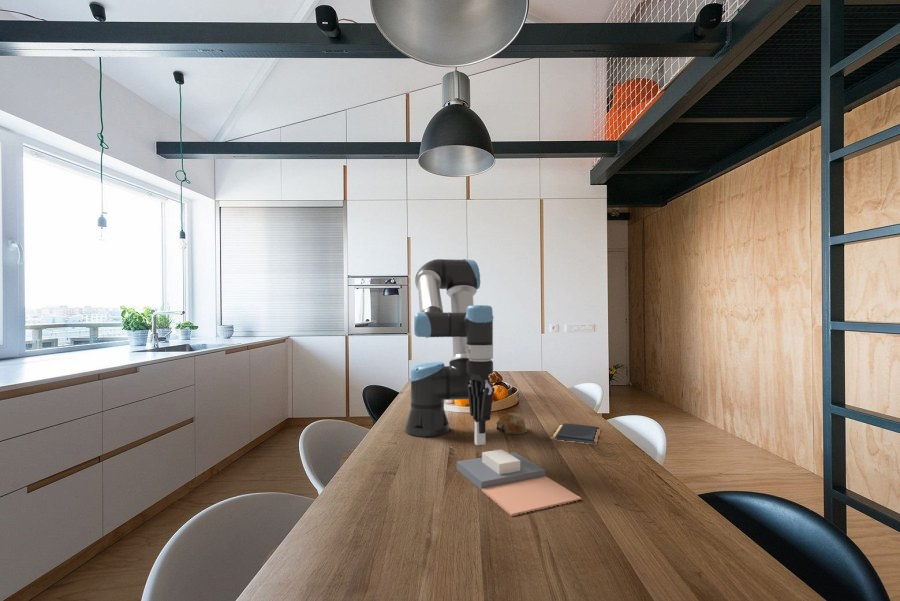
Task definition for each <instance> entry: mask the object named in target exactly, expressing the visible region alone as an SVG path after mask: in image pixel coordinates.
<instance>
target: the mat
mask: <svg viewBox="0 0 900 601" xmlns="http://www.w3.org/2000/svg"><path fill="white" fill-rule="evenodd" d="M481 492H482V493H484V494H485V495H486V496H487V497H488V498H489V497H490V500H491V501H493V502H494V503H497V504H496V505H497V506H499V507H500V508H501V510H503V511H505V512H506V513H507V514H508V515H509V516H510V517H514V516H515V517H516V516H518V515H519V514H520V515H522V514H523V513H524V514H528V513H527V512H529V513H531V512H530V511H533V512H536V511H535V510H537V511H540V509H542V510H544V509H545V508H546V509H549V508H548V507H550V508H554V507H553V506H555V507H557V506H556V505H559V506H563V505H566V503H568V504H570V503H569V502H572V503H574V502H573V501H576V500H580V499H581V500H582V497H581V496H579V495H577V494H575V492H572V491H570V490H569V489H567V488H566V487H564V486H562V485H561V484H559V482H556V481H554V480H553V479H551V478H549V477H547V476H546V475H545V476H544V477H539V478H534V479H529V480H524V481H518V482H513V483H508V484H503V485H498V486H492V487H487V488H482V490H481ZM576 502H577V501H576ZM562 504H563V505H562Z"/></svg>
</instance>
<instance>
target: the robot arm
mask: <svg viewBox="0 0 900 601" xmlns="http://www.w3.org/2000/svg"><path fill="white" fill-rule="evenodd" d="M480 272H481V271H480V268H479V265H478V263H477V262H476V261H475V260H473V259H465V258H463V259H450V258H449V259H442V258H437V259H433V260H430V261H428V262H426V263H424V264H423V265H421V267H420V268H419V269H418V270H417V272H416V274H415V281H414V283H415V288H416V289H417V290H418V306H419V312H416V313H414V318H413V319H414V320H413V321H414V325H413V327H414V328H413V329H414V330H413V332H414V333H413V334H414V336H415V337H419V338H426V339H427V338H452V355H453V356H452V358H451V359H450V360H449V361H448V364H449V365H448V366H447V365H445V362H444V361H431V362H425V363H421V364H417V365H414V366H413V367H412V368H411V370H410V379H409V382H410V408H409V412H408V415H407V418H406V419H407V420H406V422H405V433H407V434H408V435H412V436H415V437H437V436H441V435H445V434H447V433H448V432H449V431H450V423H449V420H448V417H447V414H446V413H447V412H446V410H445V401H447V400H448V401H454V400H459V401H460V400H468V405H469V413H470V414H469V415H470V416H471V417H472V419H473V420H474V421H473V422H474V445H476V446H480V445H482V446H483V445H486V438H487V437H486V423H487V421H490V420H491V414H492V404H493V397H494V394H495V389H496V388H495V387H493V386H492V387H491V385H490V383H491V382H490V375H492V374H493V373H494V361H493V360H492V359H494V340H493V339H494V330H493V329H494V328H493V327H494V325H493V324H494V314H493V312H494V311H493V307H492V306H491V305H484V304H483V305H481V304H479V305H476V304H475V305H474V296H475V295H476V294H477V290H479V289H480V288H481V274H480ZM440 290H446V294H447V295H448V297H450V308H451V312H449V311H448V312H444V309H443V308H444V306H443V302H442V296H441V291H440Z"/></svg>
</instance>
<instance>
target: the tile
mask: <svg viewBox="0 0 900 601" xmlns="http://www.w3.org/2000/svg"><path fill="white" fill-rule="evenodd" d="M509 453H510V452H507V451H505V450H504V449H501V448H500V449H495V450H490V451H484V452H481V458H482V462H483V463H484V464H485V465H487V466H488V467H490V468H491V469H492V470H494V471H495V472H497V473H498V474H505V473H511V472H516V471H520V460H518V459H517V458H515V457H513V456H512V455H510V454H509Z"/></svg>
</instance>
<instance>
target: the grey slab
mask: <svg viewBox="0 0 900 601" xmlns="http://www.w3.org/2000/svg"><path fill="white" fill-rule="evenodd" d="M508 453H509V454H510V455H512V456H513V457H515V458H517V459H518V460H520V471H516V472H511V473H505V474H498V473H497V472H495V471H494V470H492V469H491V468H490V467H488V466H487V465H485V464H484V463H483V462H482V457H477V458H471V459H464V460H457V461H456V471H458V472H459V473H461V475H463V476H464V477H465V478H466V479H467V480H468V481H470V482H471V483H472V484H473V485H474V486H476V488H478V489H479V490H480V491H482V488H487V487H492V486H498V485H503V484H508V483H513V482H518V481H524V480H529V479H534V478H539V477H544V476H546V469H544V468H543V467H542V466H541V467H540V465H538V464H536V463H534V462H532V461H531V460H529V459H527V458H525V457H524V456H522V455H521V454H520V453H517V452H514V451H513V452H508Z"/></svg>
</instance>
